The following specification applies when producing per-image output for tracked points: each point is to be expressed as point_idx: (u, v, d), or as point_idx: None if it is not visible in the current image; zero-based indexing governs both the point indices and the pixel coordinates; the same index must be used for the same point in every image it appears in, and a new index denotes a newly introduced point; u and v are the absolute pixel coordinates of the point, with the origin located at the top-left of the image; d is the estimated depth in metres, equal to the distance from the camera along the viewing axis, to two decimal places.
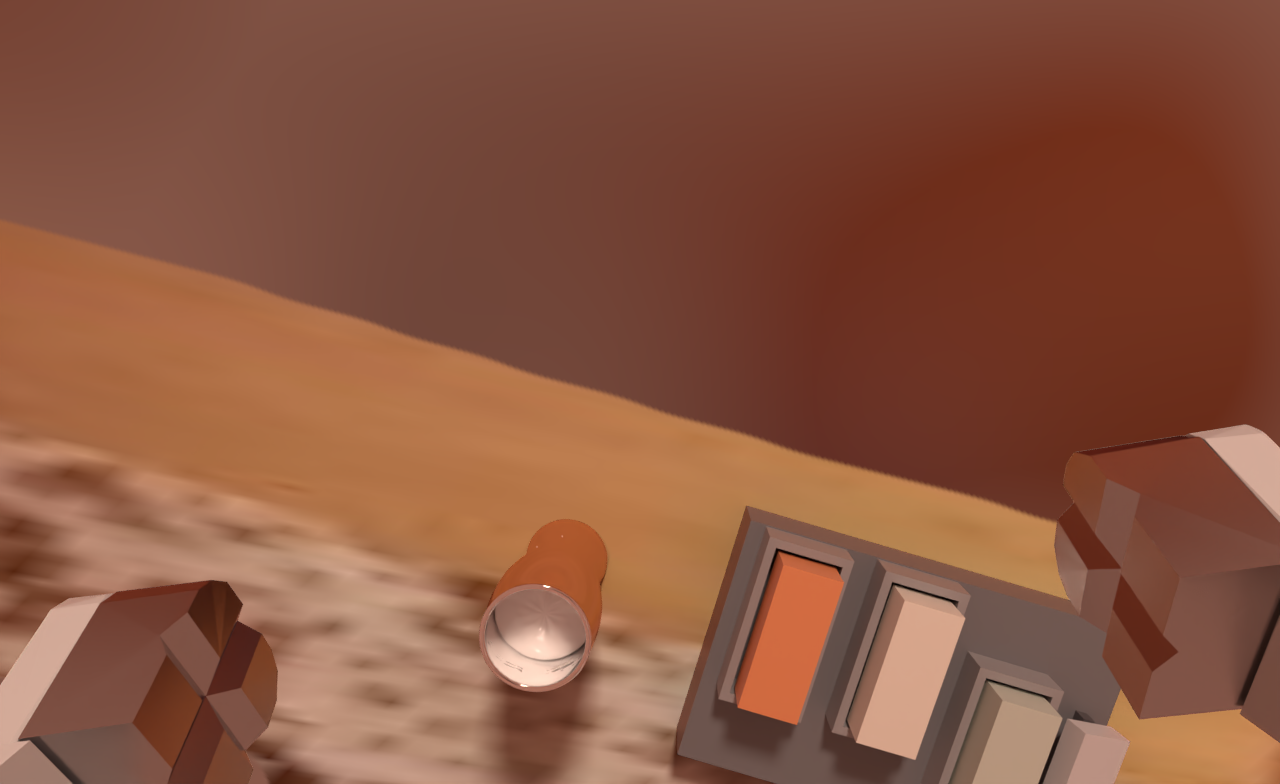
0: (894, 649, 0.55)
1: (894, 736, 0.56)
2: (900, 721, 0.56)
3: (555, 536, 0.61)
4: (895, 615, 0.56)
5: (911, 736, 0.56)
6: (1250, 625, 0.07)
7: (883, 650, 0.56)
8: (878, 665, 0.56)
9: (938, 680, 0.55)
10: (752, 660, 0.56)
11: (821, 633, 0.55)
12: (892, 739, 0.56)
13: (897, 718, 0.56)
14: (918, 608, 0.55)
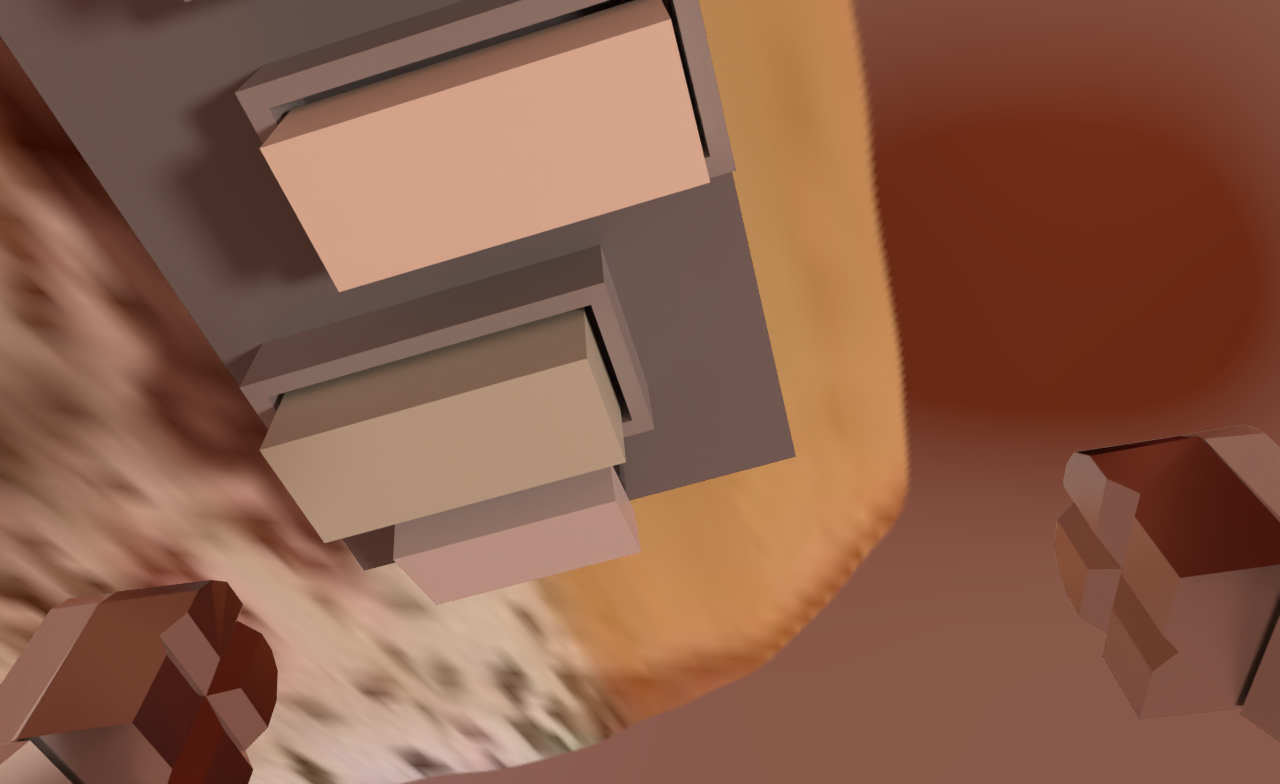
0: (538, 78, 0.20)
1: (347, 219, 0.21)
2: (388, 208, 0.21)
3: None
4: (613, 30, 0.20)
5: (378, 252, 0.22)
6: (1250, 625, 0.07)
7: (511, 61, 0.20)
8: (469, 74, 0.20)
9: (538, 221, 0.22)
10: None
11: None
12: (338, 218, 0.21)
13: (392, 197, 0.21)
14: (670, 66, 0.20)
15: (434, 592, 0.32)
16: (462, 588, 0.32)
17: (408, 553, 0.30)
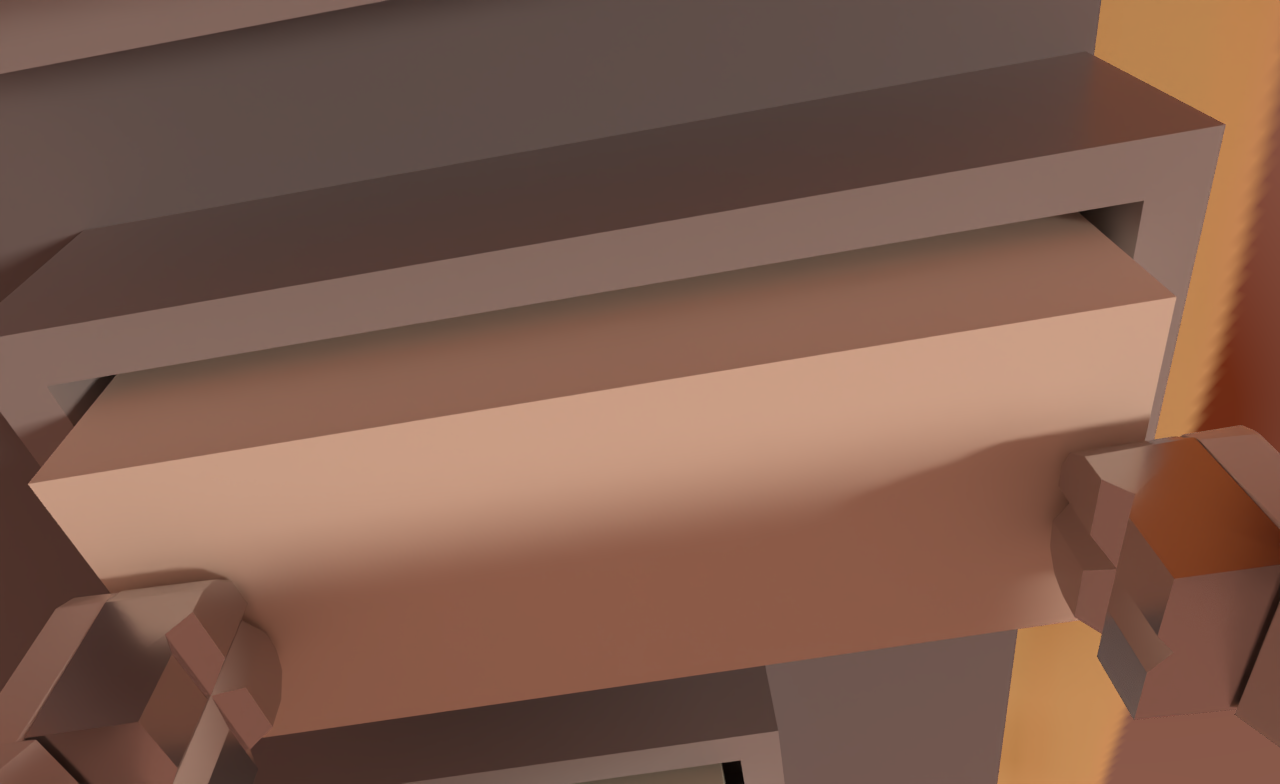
0: (787, 395, 0.08)
1: None
2: (357, 615, 0.09)
3: None
4: (989, 288, 0.08)
5: (322, 686, 0.09)
6: (1245, 625, 0.07)
7: (711, 330, 0.08)
8: (598, 345, 0.08)
9: (701, 657, 0.09)
10: None
11: None
12: None
13: (367, 598, 0.09)
14: (1125, 398, 0.08)
15: None
16: None
17: None
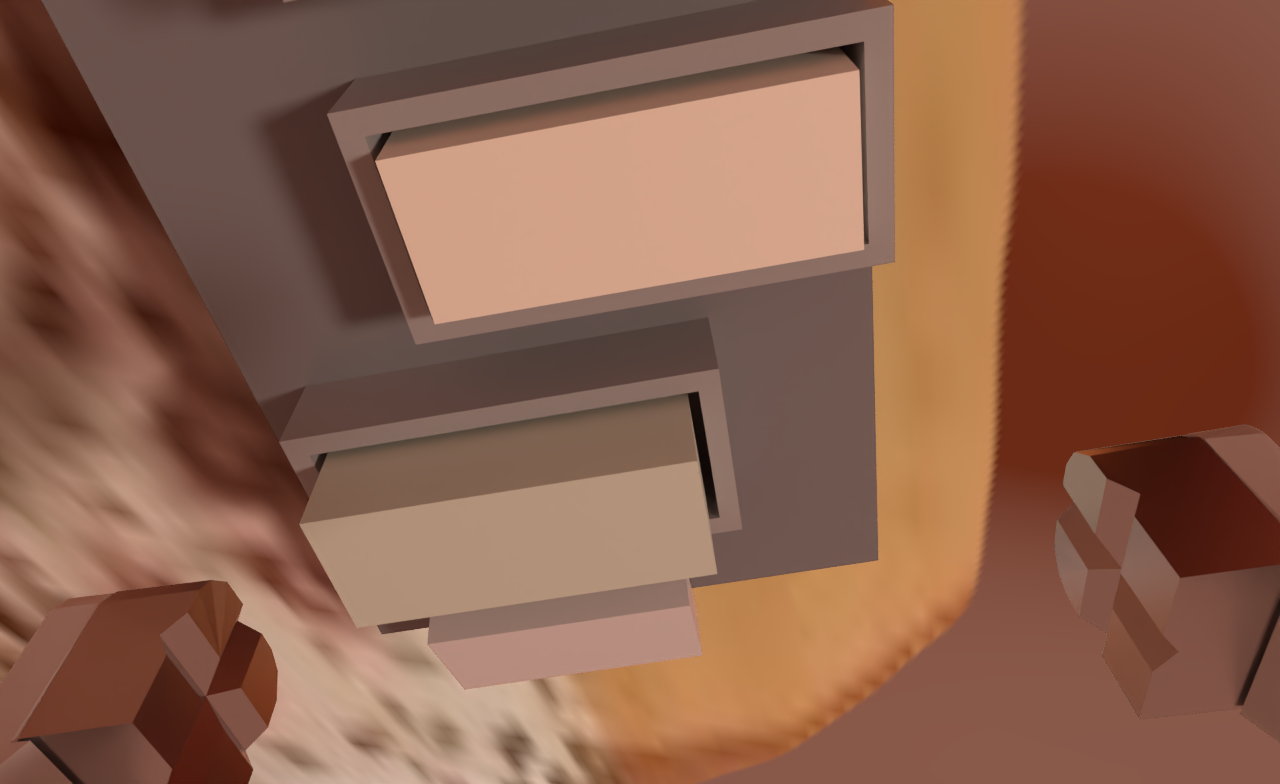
0: (699, 117, 0.18)
1: (459, 247, 0.19)
2: (507, 241, 0.19)
3: None
4: (788, 73, 0.18)
5: (486, 286, 0.20)
6: (1250, 625, 0.07)
7: (668, 95, 0.18)
8: (619, 103, 0.18)
9: (668, 272, 0.20)
10: None
11: None
12: (448, 246, 0.19)
13: (512, 230, 0.19)
14: (847, 121, 0.18)
15: (465, 677, 0.28)
16: (497, 676, 0.28)
17: (445, 638, 0.26)
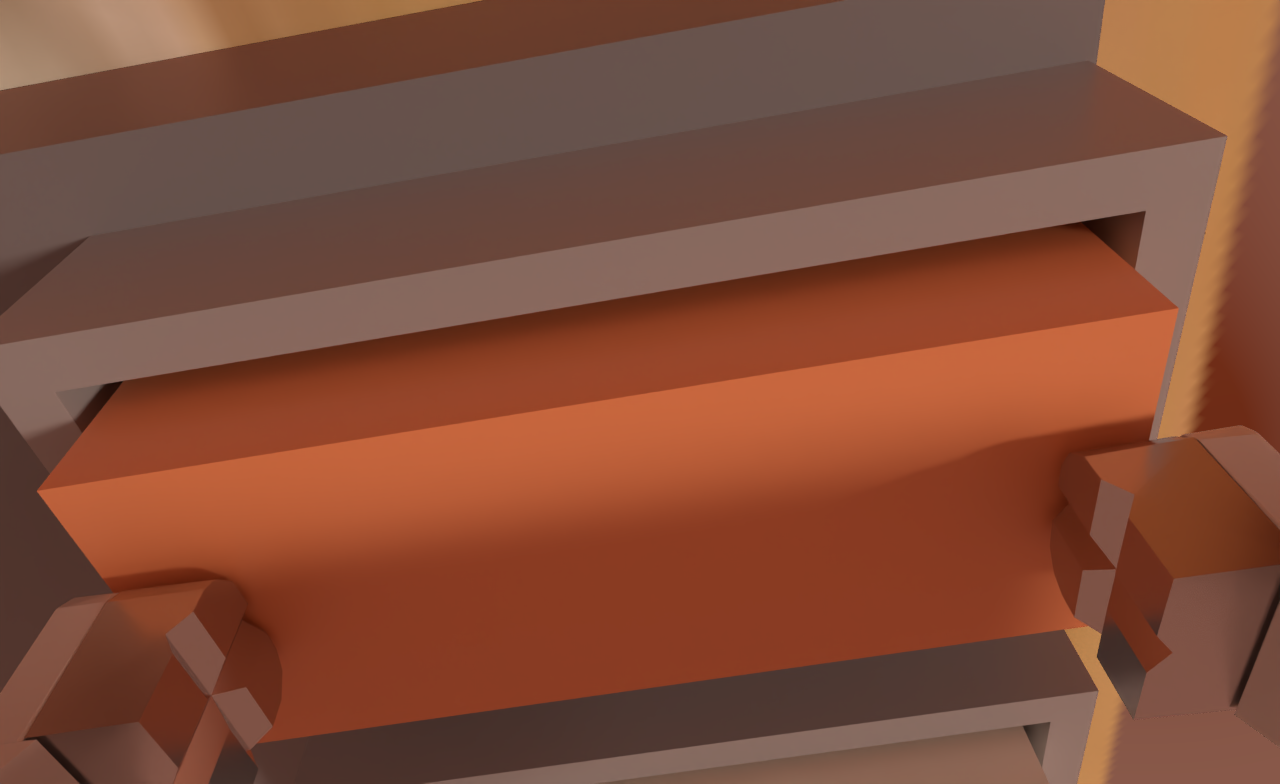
0: None
1: None
2: None
3: None
4: (942, 760, 0.13)
5: None
6: (1245, 626, 0.07)
7: (772, 779, 0.13)
8: None
9: None
10: (397, 422, 0.08)
11: (775, 649, 0.09)
12: None
13: None
14: None
15: None
16: None
17: None
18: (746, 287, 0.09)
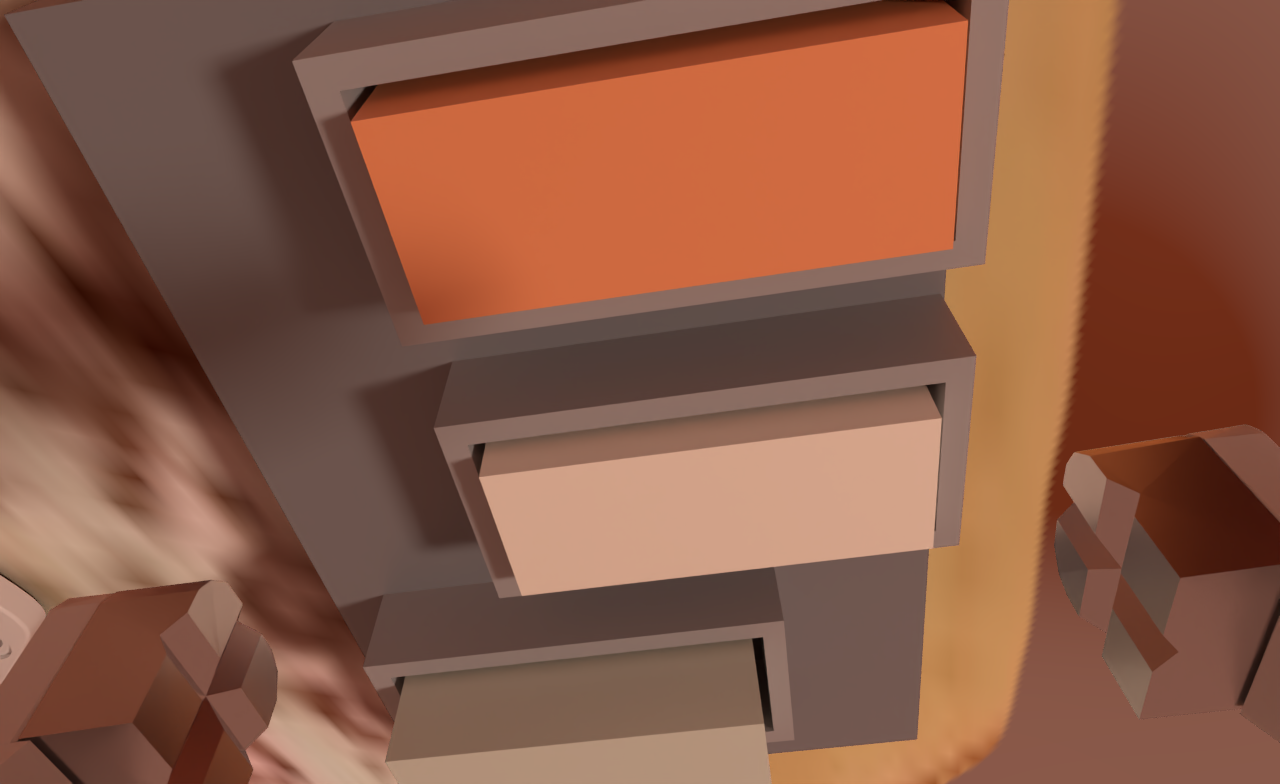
0: (786, 450, 0.19)
1: (551, 541, 0.20)
2: (596, 536, 0.20)
3: None
4: (872, 408, 0.19)
5: (573, 569, 0.21)
6: (1250, 625, 0.07)
7: (757, 421, 0.19)
8: (709, 425, 0.19)
9: (745, 561, 0.21)
10: (545, 87, 0.14)
11: (753, 260, 0.16)
12: (541, 539, 0.20)
13: (602, 529, 0.20)
14: (926, 455, 0.19)
15: None
16: None
17: None
18: (740, 30, 0.15)
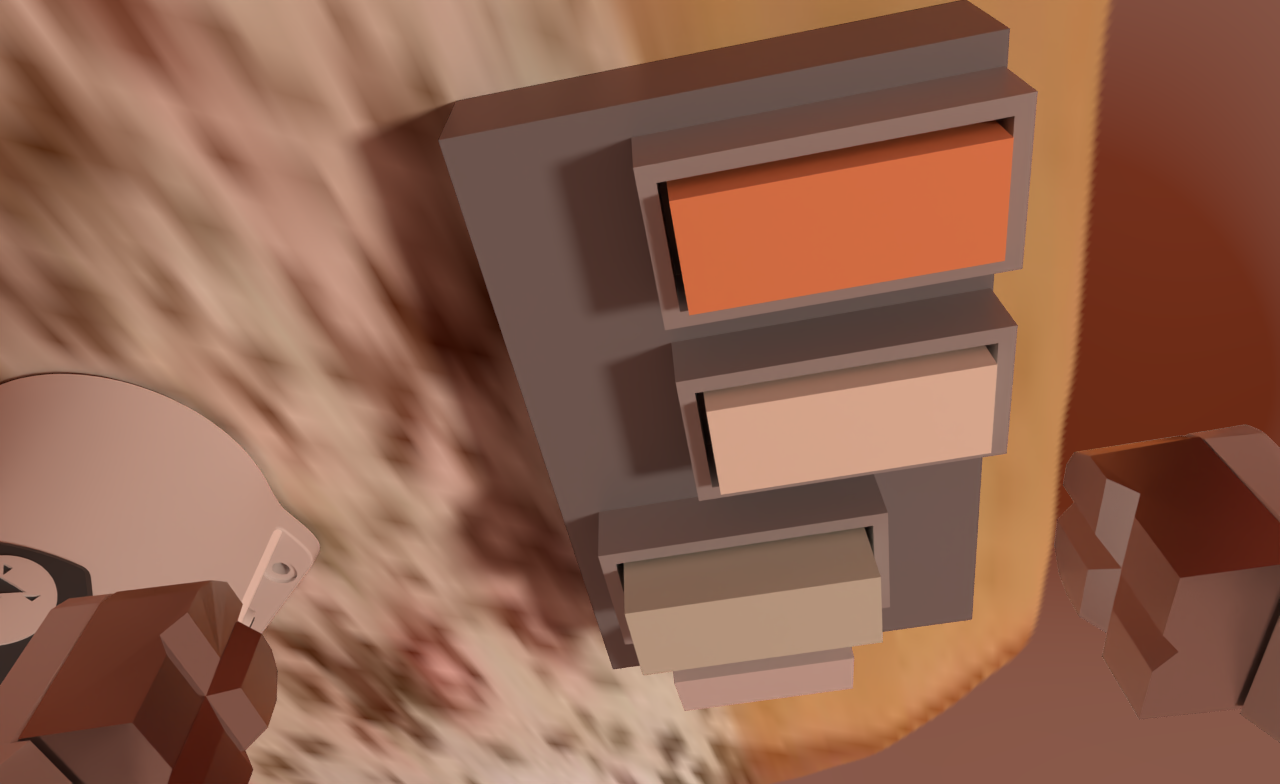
0: (900, 388, 0.30)
1: (745, 454, 0.31)
2: (775, 451, 0.31)
3: None
4: (952, 360, 0.30)
5: (757, 474, 0.32)
6: (1250, 625, 0.07)
7: (880, 371, 0.30)
8: (849, 375, 0.30)
9: (869, 465, 0.32)
10: (778, 179, 0.25)
11: (888, 270, 0.27)
12: (739, 453, 0.31)
13: (779, 445, 0.31)
14: (988, 389, 0.30)
15: (688, 703, 0.41)
16: (710, 702, 0.41)
17: (685, 678, 0.39)
18: None
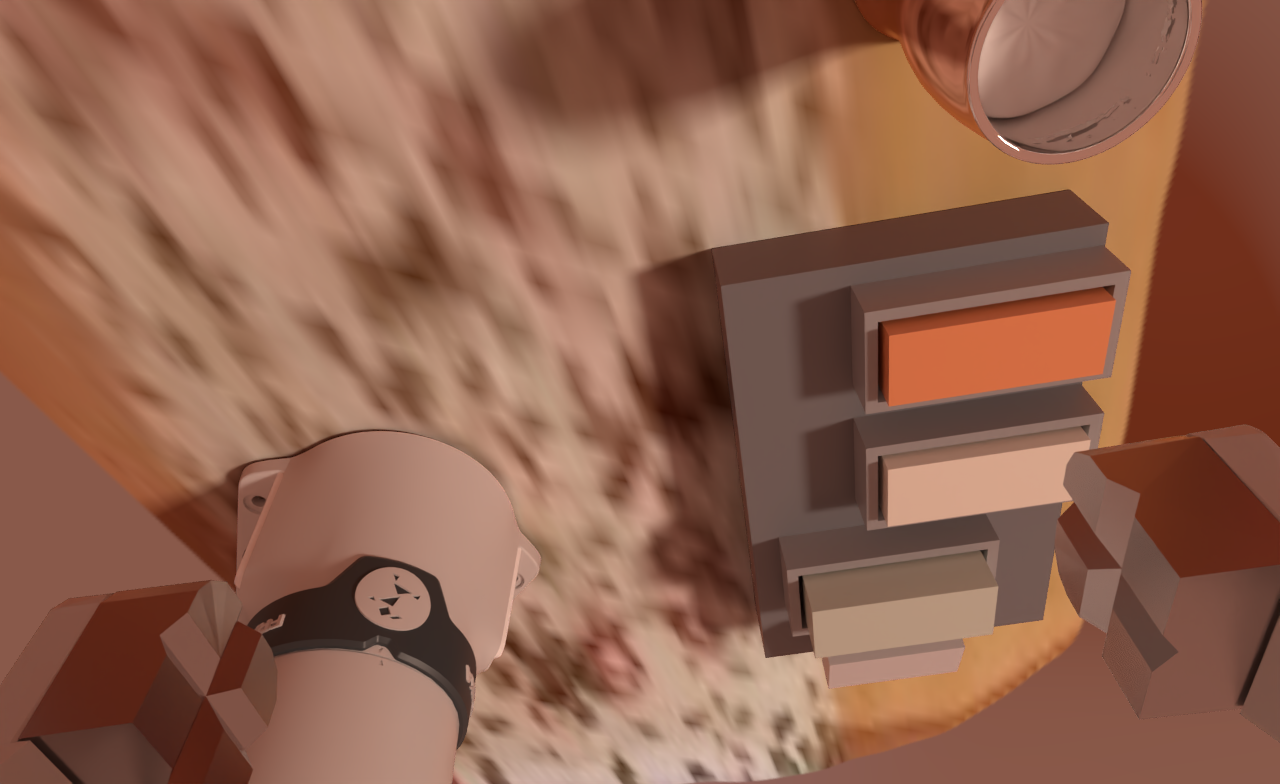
0: (1023, 455, 0.43)
1: (909, 499, 0.45)
2: (930, 496, 0.45)
3: None
4: (1058, 436, 0.43)
5: (915, 512, 0.45)
6: (1250, 625, 0.07)
7: (1008, 443, 0.44)
8: (986, 445, 0.44)
9: (994, 507, 0.45)
10: (961, 322, 0.39)
11: (1025, 379, 0.41)
12: (905, 498, 0.45)
13: (934, 492, 0.44)
14: None
15: (833, 682, 0.54)
16: (849, 681, 0.54)
17: (838, 662, 0.52)
18: None
